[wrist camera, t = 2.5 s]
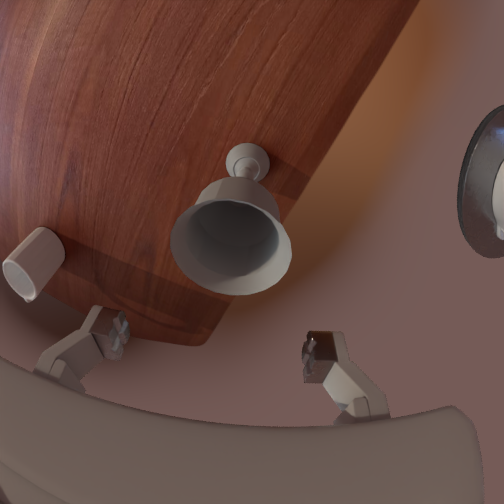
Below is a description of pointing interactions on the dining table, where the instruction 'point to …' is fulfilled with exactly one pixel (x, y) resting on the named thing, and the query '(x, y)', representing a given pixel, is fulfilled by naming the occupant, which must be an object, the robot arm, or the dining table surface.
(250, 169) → the chalice
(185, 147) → the dining table surface
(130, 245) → the dining table surface
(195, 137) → the dining table surface
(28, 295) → the mug
